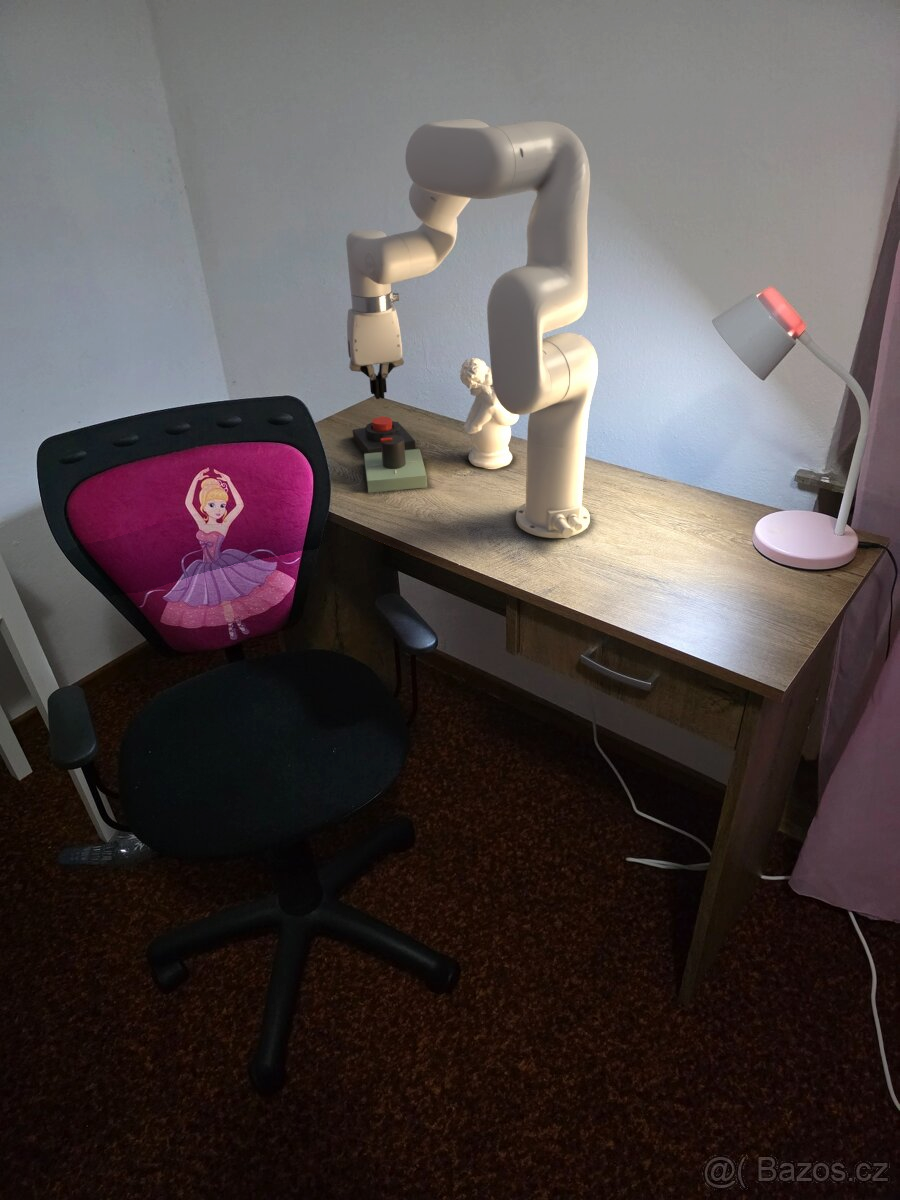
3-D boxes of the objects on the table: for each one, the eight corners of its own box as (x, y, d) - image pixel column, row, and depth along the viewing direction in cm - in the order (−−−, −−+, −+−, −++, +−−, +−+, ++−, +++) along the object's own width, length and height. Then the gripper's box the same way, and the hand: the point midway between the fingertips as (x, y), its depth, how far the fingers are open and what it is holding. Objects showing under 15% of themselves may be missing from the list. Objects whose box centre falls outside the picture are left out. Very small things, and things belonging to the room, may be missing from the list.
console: (427, 487, 150) (426, 474, 148) (368, 492, 149) (367, 480, 147) (420, 460, 159) (419, 448, 158) (365, 465, 158) (363, 452, 157)
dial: (404, 458, 154) (402, 432, 151) (406, 467, 151) (405, 441, 148) (381, 460, 154) (379, 434, 151) (383, 470, 150) (381, 443, 147)
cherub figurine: (457, 466, 157) (454, 354, 144) (473, 440, 166) (472, 334, 154) (518, 472, 154) (520, 359, 141) (531, 446, 163) (534, 337, 151)
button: (395, 430, 163) (394, 422, 162) (376, 433, 162) (375, 425, 161) (388, 423, 166) (388, 415, 165) (370, 426, 165) (369, 418, 164)
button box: (415, 450, 163) (414, 432, 161) (368, 459, 160) (367, 441, 158) (398, 431, 172) (396, 413, 169) (353, 439, 169) (351, 421, 166)
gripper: (406, 293, 154) (410, 385, 165) (329, 301, 151) (339, 394, 162) (415, 303, 148) (419, 398, 159) (335, 311, 145) (345, 408, 156)
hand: (379, 396), depth 160 cm, fingers closed
